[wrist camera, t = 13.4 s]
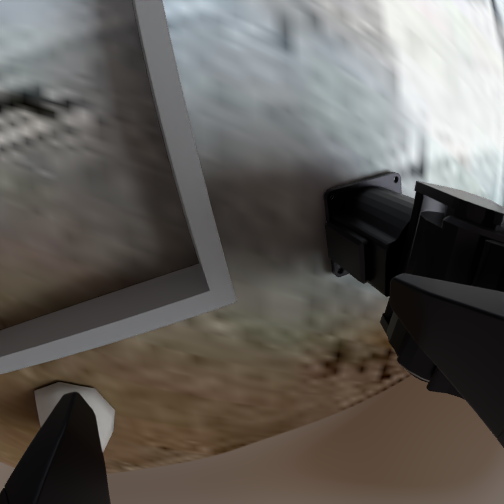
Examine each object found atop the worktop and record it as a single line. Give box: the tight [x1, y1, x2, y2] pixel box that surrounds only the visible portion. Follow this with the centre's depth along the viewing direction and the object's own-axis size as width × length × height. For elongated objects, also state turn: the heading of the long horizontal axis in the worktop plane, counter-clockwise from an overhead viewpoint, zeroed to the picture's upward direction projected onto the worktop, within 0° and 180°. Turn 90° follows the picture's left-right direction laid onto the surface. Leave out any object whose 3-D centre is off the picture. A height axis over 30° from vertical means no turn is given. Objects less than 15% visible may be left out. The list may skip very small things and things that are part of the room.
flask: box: [34, 382, 115, 452], centre depth 17 cm, size 7×7×10 cm
